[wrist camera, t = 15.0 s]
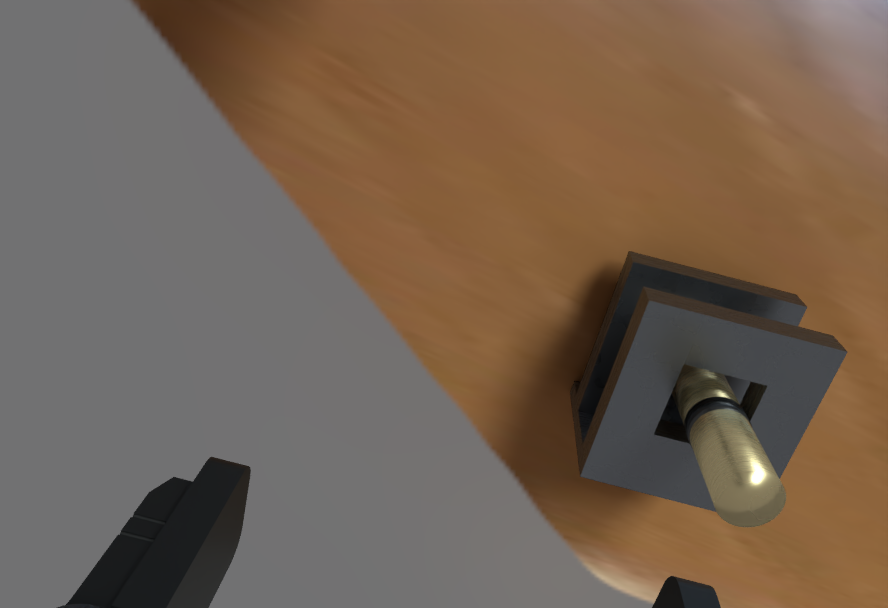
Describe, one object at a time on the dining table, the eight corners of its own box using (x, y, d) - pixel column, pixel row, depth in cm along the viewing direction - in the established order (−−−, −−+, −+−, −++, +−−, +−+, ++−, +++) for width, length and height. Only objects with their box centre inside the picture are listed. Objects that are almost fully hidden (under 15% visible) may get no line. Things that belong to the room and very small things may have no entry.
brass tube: (660, 306, 50) (729, 462, 33) (707, 318, 50) (799, 480, 33) (643, 348, 51) (702, 517, 34) (689, 360, 51) (769, 535, 34)
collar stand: (624, 241, 48) (649, 300, 39) (785, 282, 48) (847, 351, 39) (569, 392, 53) (580, 476, 44) (715, 429, 53) (756, 522, 44)
